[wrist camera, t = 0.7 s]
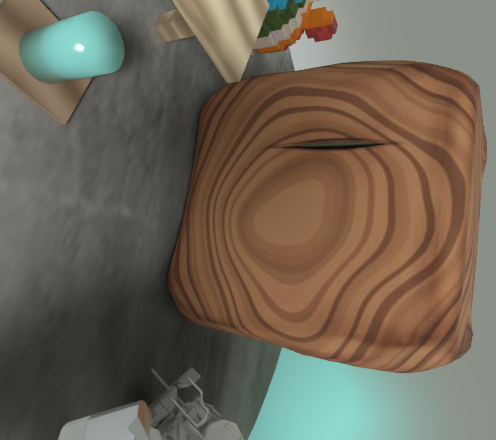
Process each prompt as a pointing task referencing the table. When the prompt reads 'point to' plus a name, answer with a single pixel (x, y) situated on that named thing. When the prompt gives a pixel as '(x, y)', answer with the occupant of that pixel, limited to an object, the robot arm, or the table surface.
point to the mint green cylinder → (72, 48)
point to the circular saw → (188, 414)
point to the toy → (293, 25)
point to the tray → (13, 71)
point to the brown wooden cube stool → (338, 213)
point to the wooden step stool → (217, 30)
